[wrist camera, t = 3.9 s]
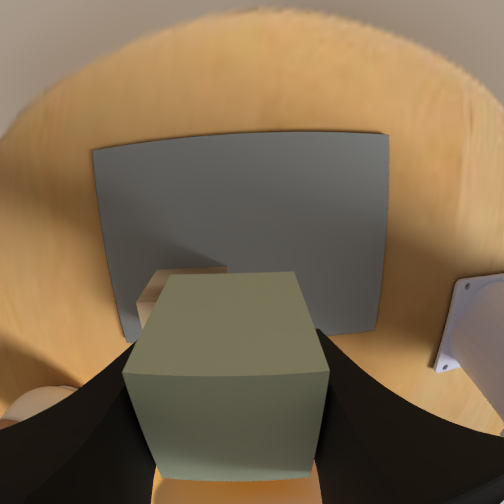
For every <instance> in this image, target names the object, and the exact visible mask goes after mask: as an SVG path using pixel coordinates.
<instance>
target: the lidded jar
mask: <svg viewBox="0 0 504 504" xmlns="http://www.w3.org/2000/svg"><path fill="white" fill-rule="evenodd" d="M76 390H78V388H75V387H71V386H66V385H60V386H44V387H40V388H35V389H32V390H30V391H28V392H26V393H24V394H23V395H21V396H20V397H19V398H17V399H16V400H15V401H14V402H13V403H12V404H11V405H10V406H9V407H8V409H7V410H6V411H5V413H4V414H3V415H2V416H1V418H0V429H3V428H6V427H9V426H11V425H14V424H16V423H19V422H21V421H23V420H26V419H28V418H30V417H32V416H34V415H36V414H38V413H40V412H42V411H44V410H45V409H47V408H49V407H51V406H53V405H55V404H56V403H58V402H60V401H61V400H63V399H64V398H66V397H68V396H69V395H71V394H72V393H74V392H75V391H76Z"/></svg>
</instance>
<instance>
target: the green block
mask: <svg viewBox="0 0 504 504" xmlns="http://www.w3.org/2000/svg"><path fill="white" fill-rule="evenodd" d="M329 373H330V370H329V367H328V364H327V361H326V358H325V355H324V353H323V350H322V347H321V344H320V341H319V339H318V336H317V333H316V330H315V327H314V325H313V322H312V319H311V316H310V314H309V311H308V308H307V306H306V303H305V300H304V297H303V295H302V292H301V289H300V287H299V284H298V281H297V279H296V276H295V273H294V271H291V272H261V273H225V274H180V275H170V277H169V279H168V280H167V282H166V284H165V286H164V288H163V290H162V292H161V294H160V296H159V298H158V300H157V302H156V304H155V306H154V308H153V310H152V312H151V314H150V316H149V318H148V320H147V322H146V324H145V326H144V328H143V330H142V332H141V334H140V336H139V338H138V340H137V342H136V344H135V346H134V348H133V350H132V352H131V354H130V357H129V359H128V361H127V363H126V365H125V367H124V369H123V371H122V374H123V377H124V380H125V383H126V387H127V390H128V393H129V396H130V398H131V401H132V404H133V407H134V410H135V413H136V415H137V418H138V421H139V423H140V426H141V429H142V431H143V434H144V436H145V439H146V441H147V444H148V446H149V449H150V451H151V453H152V456H153V458H154V461H155V463H156V465H157V467H158V470H159V472H160V474H161V476H162V478H172V479H185V480H203V481H263V480H264V481H265V480H281V479H294V478H304V477H310V475H311V470H312V465H313V461H314V457H315V452H316V447H317V442H318V437H319V432H320V427H321V421H322V416H323V410H324V404H325V399H326V393H327V386H328V380H329Z"/></svg>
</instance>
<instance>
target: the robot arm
mask: <svg viewBox="0 0 504 504" xmlns="http://www.w3.org/2000/svg"><path fill="white" fill-rule="evenodd" d="M466 284H467V286H466ZM465 286H466V287H465ZM315 330H316V333H317V336H318V339H319V341H320V344H321V347H322V350H323V353H324V355H325V358H326V361H327V364H328V367H329V370H330V373H329V380H328V386H327V393H326V399H325V404H324V410H323V416H322V421H321V427H320V432H319V437H318V442H317V447H316V452H315V457H314V460H315V463H316V467H317V472H318V476H319V483H320V489H321V496H322V503H323V504H500V503H501V502H502V501H503V500H504V429H503V430H502V432H501V433H500V435H501V436H502V437H500V436H496V435H491V434H487V433H483V432H479V431H475V430H472V429H469V428H466V427H463V426H460V425H458V424H455V423H452V422H450V421H447V420H445V419H442V418H440V417H438V416H435V415H433V414H431V413H429V412H427V411H425V410H423V409H421V408H419V407H417V406H415V405H413V404H412V403H410V402H408V401H406V400H405V399H403V398H402V397H400V396H398V395H397V394H395V393H394V392H392V391H390V390H389V389H387V388H386V387H384V386H383V385H382V384H380V383H379V382H378V381H376V380H375V379H374V378H372V377H371V376H370V375H369V374H367V373H366V372H365V371H364V370H362V369H361V368H360V367H359V366H358V365H357V364H355V363H354V362H353V361H352V360H351V359H350V358H349V357H348V356H347V355H345V354H344V353H343V352H342V351H341V350H340V349H339V348H338V347H337V346H336V345H335V344H334V343H333V342H332V341H331V340H330V339H329V338H328V337H327V336H326V335H325V334H324V333H323V332H322V331H321V330H320V329H315ZM136 342H137V341H136ZM136 342H134V343H133V344H132V345H131V346H130V347H129V348H128V349H127V350H125V351H124V352H123V353H122V354H121V355H120V356H119V357H118V358H116V359H115V360H114V361H113V362H112V363H111V364H109V365H108V366H107V367H106V368H105V369H104V370H102V371H101V372H100V373H99V374H97V375H96V376H95V377H93V378H92V379H91V380H90V381H88V382H87V383H86V384H85V385H83V386H82V387H81V388H79V389H78V390H76V391H75V392H74V393H72V394H71V395H69V396H68V397H66V398H64V399H63V400H61V401H60V402H58V403H56V404H55V405H53V406H51V407H49V408H47V409H45V410H44V411H42V412H40V413H38V414H36V415H34V416H32V417H30V418H28V419H26V420H23V421H21V422H19V423H16V424H14V425H11V426H9V427H6V428H3V429H0V504H151V496H152V487H153V479H154V474H155V469H156V463H155V461H154V458H153V456H152V453H151V451H150V449H149V446H148V444H147V441H146V439H145V436H144V434H143V431H142V429H141V426H140V423H139V421H138V418H137V415H136V413H135V410H134V407H133V404H132V401H131V398H130V396H129V393H128V390H127V387H126V383H125V380H124V377H123V374H122V371H123V369H124V367H125V365H126V363H127V361H128V359H129V357H130V354H131V352H132V350H133V348H134V346H135V344H136ZM459 367H462V368H463V369H464V371H465V372H466V373H467V374H468V376H469V377H470V378H471V380H472V381H473V382H474V383H475V385H476V386H477V387H478V388H479V390H480V391H481V392H482V394H483V395H484V396H485V398H486V399H487V400H488V401H489V403H490V404H491V405H492V407H493V408H494V409H495V411H496V412H497V413H498V415H499V416H500V418H501V419H502V420H503V422H504V273H501V274H494V275H487V276H479V277H472V278H464V279H459V280H458V281H457V282H456V284H455V287H454V292H453V296H452V301H451V305H450V310H449V314H448V318H447V322H446V326H445V330H444V333H443V337H442V341H441V344H440V348H439V351H438V354H437V358H436V361H435V364H434V367H433V369H434V371H435V372H436V373H440V372H444V371H448V370H452V369H456V368H459Z"/></svg>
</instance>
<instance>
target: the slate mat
mask: <svg viewBox="0 0 504 504" xmlns="http://www.w3.org/2000/svg"><path fill="white" fill-rule="evenodd" d="M92 152H93V164H94V174H95V183H96V192H97V200H98V207H99V214H100V221H101V227H102V233H103V239H104V245H105V251H106V256H107V261H108V266H109V271H110V276H111V281H112V286H113V290H114V294H115V299H116V303H117V307H118V311H119V315H120V319H121V323H122V327H123V331H124V335H125V338H126V342H127V343H134V342H136V341H137V340H138V338H139V336H140V334H141V332H142V326H141V322H140V318H139V313H138V309H137V304H136V302H137V300H138V299H139V297H140V295H141V294H142V292H143V291H144V289H145V287H146V286H147V284H148V283H149V281H150V280H151V278H152V276H153V275H154V273H155V272H156V270H157V269H180V268H202V267H223V266H228V273H261V272H291V271H294V273H295V276H296V279H297V281H298V284H299V287H300V289H301V292H302V295H303V297H304V300H305V303H306V306H307V308H308V311H309V314H310V316H311V319H312V322H313V325H314V327H315V329H320V330H321V331H322V332H323V333H324V334H325V335H326V336H331V335H340V334H349V333H358V332H366V331H374V330H375V327H376V320H377V313H378V306H379V299H380V291H381V283H382V274H383V265H384V254H385V242H386V229H387V212H388V188H389V135H384V134H368V133H345V132H265V133H241V134H224V135H211V136H198V137H188V138H178V139H169V140H160V141H152V142H144V143H137V144H130V145H123V146H117V147H111V148H105V149H99V150H93V151H92Z"/></svg>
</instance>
